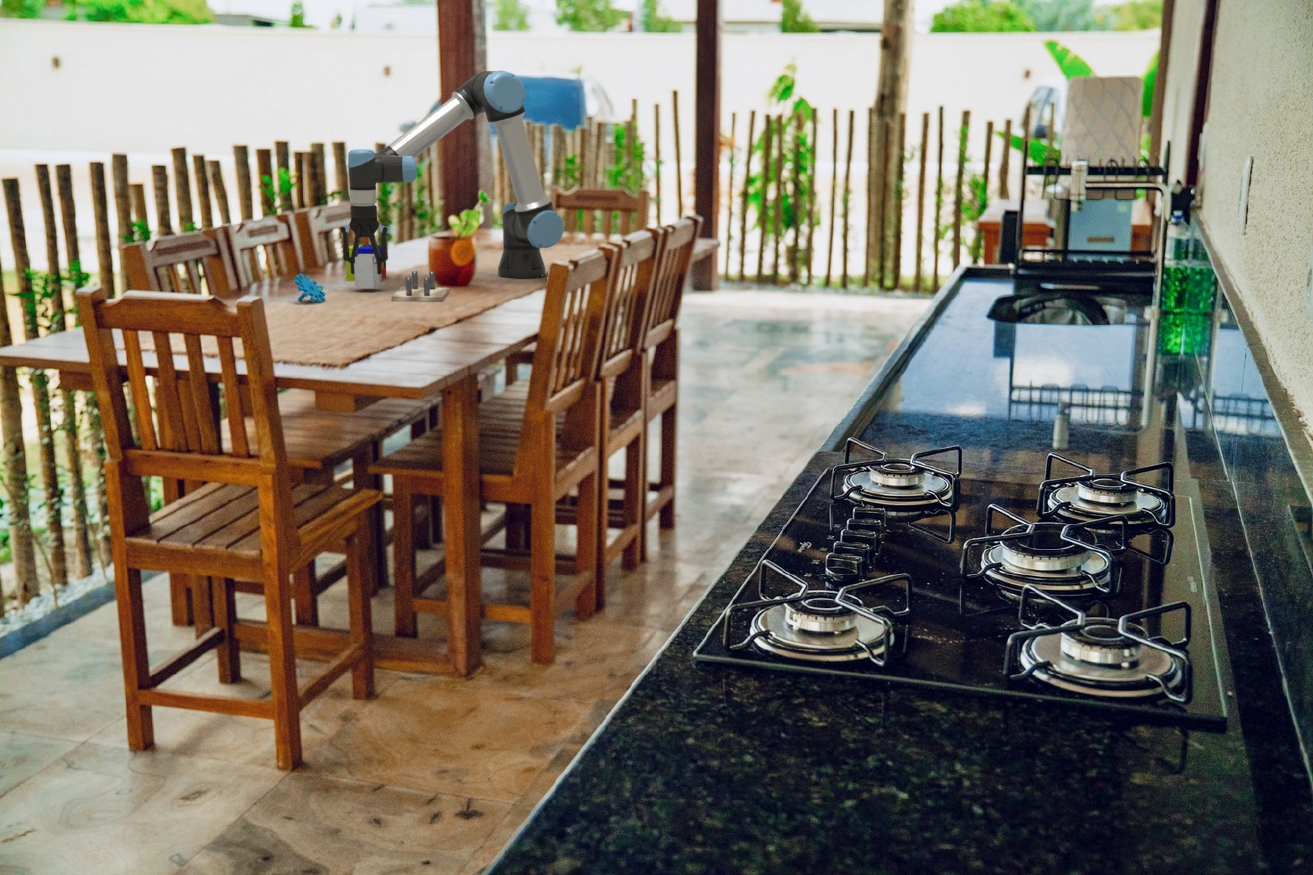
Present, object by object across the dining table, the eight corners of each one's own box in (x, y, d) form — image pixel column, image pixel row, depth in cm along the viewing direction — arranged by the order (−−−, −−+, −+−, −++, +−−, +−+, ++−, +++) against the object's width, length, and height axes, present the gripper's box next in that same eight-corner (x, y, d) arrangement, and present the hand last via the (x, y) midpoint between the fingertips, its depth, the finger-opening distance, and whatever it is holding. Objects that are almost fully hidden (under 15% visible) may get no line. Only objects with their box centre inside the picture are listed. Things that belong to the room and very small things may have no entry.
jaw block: (377, 284, 389) (376, 254, 386) (373, 288, 382) (372, 257, 379) (360, 284, 388) (359, 254, 386) (356, 288, 382) (354, 257, 379)
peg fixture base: (449, 291, 386) (448, 270, 385) (442, 301, 369) (441, 279, 367) (401, 291, 386) (400, 270, 384) (391, 300, 368) (390, 278, 367)
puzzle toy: (379, 281, 403) (378, 249, 401) (346, 281, 403) (345, 248, 401) (386, 277, 413) (385, 245, 410) (354, 276, 413) (353, 244, 411)
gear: (310, 299, 357) (290, 271, 359) (297, 313, 360) (277, 285, 361) (335, 299, 368) (316, 272, 369) (322, 313, 370) (303, 286, 371)
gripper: (397, 203, 383) (400, 283, 389) (334, 203, 382) (338, 283, 388) (393, 206, 376) (396, 287, 382) (329, 205, 375) (333, 287, 381)
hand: (367, 285), depth 385 cm, fingers closed on jaw block, 5 cm apart
